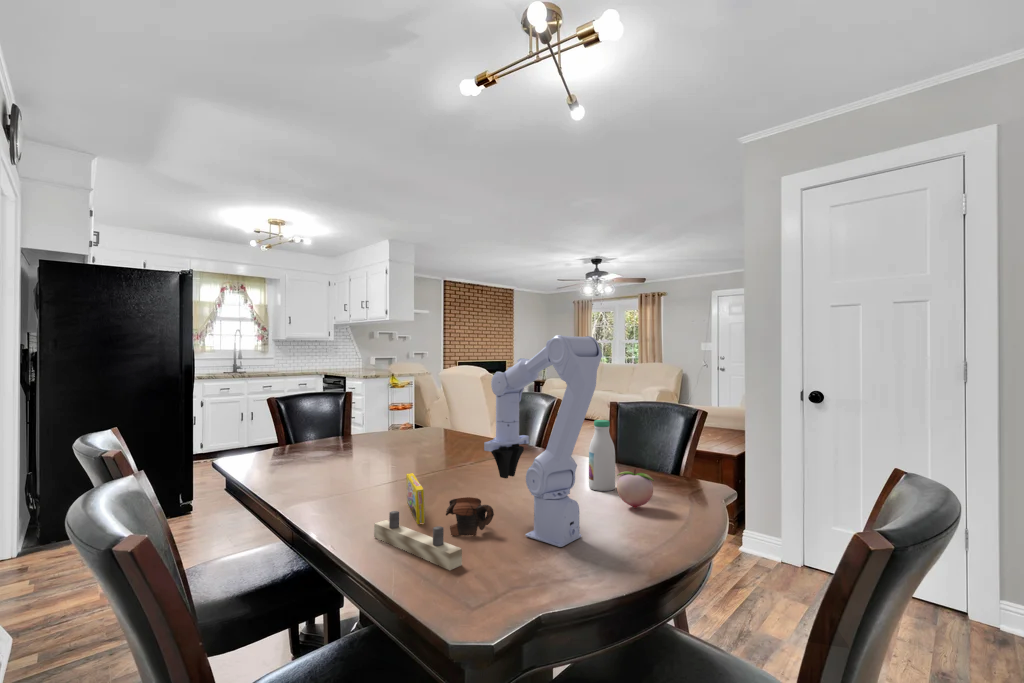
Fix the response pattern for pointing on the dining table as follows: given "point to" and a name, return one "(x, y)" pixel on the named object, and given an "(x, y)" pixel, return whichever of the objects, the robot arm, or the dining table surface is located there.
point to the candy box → (415, 498)
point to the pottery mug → (469, 515)
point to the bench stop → (419, 542)
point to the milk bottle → (602, 458)
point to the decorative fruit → (635, 488)
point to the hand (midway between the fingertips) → (507, 476)
